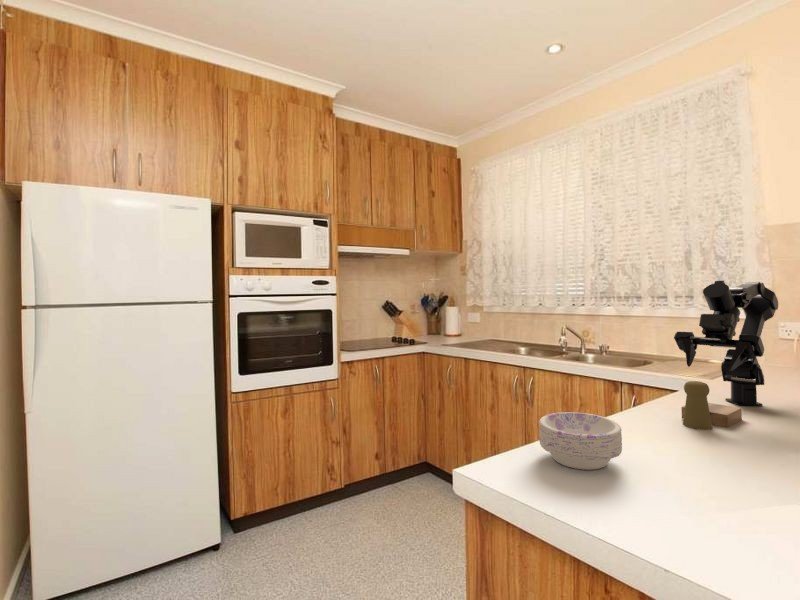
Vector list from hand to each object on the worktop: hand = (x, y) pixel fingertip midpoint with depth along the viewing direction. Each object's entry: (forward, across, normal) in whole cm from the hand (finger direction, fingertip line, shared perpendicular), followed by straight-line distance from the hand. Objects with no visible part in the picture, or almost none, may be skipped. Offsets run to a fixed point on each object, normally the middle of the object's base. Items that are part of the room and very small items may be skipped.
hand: (708, 367), depth 108 cm
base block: (+9, 0, +10) cm, 14 cm away
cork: (+15, 0, +4) cm, 16 cm away
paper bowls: (+46, -6, -26) cm, 53 cm away
